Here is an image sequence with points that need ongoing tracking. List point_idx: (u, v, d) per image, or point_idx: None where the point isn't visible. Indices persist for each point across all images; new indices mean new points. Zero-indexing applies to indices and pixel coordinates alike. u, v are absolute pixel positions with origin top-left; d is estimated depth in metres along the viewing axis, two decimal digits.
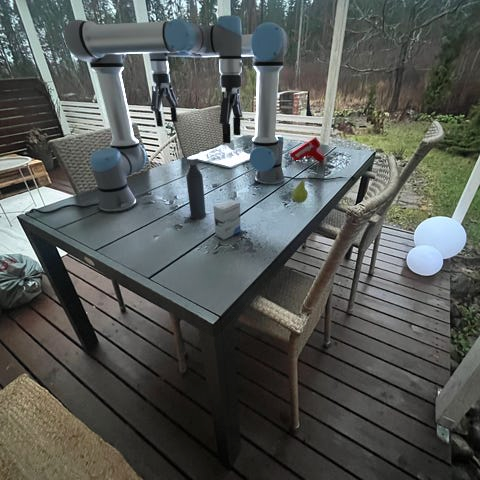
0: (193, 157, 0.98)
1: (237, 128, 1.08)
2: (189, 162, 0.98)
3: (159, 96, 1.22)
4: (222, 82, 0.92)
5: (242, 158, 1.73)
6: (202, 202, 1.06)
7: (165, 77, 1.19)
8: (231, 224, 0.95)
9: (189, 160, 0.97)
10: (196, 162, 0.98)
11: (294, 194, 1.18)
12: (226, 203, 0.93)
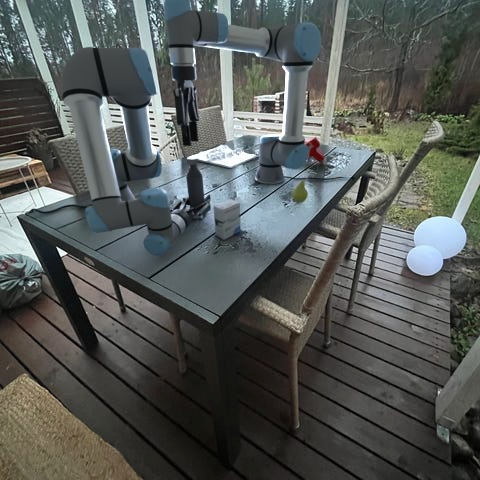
0: (193, 157, 0.98)
1: None
2: (189, 162, 0.98)
3: None
4: None
5: (242, 158, 1.73)
6: (202, 202, 1.06)
7: (192, 71, 0.82)
8: (231, 224, 0.95)
9: (189, 160, 0.97)
10: (196, 162, 0.98)
11: (294, 194, 1.18)
12: (226, 203, 0.93)
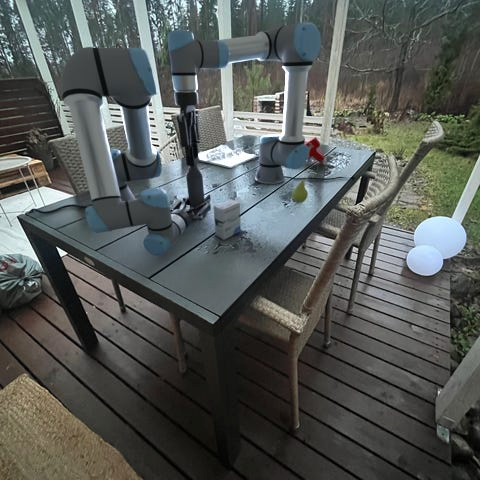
0: None
1: None
2: None
3: None
4: None
5: (242, 158, 1.73)
6: (202, 202, 1.06)
7: (194, 97, 0.86)
8: (231, 224, 0.95)
9: None
10: (196, 162, 0.98)
11: (294, 194, 1.18)
12: (226, 203, 0.93)
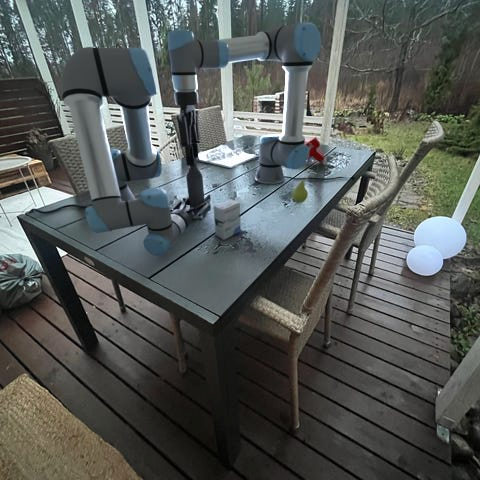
0: None
1: None
2: (196, 161, 0.98)
3: None
4: None
5: (242, 158, 1.73)
6: (202, 202, 1.06)
7: (194, 96, 0.86)
8: (231, 224, 0.95)
9: (196, 159, 0.98)
10: None
11: (294, 194, 1.18)
12: (226, 203, 0.93)
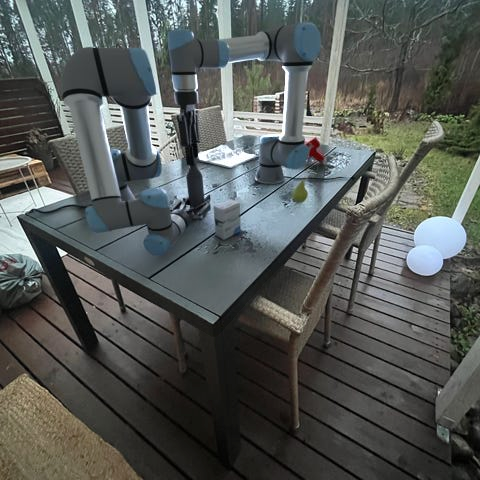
0: None
1: None
2: None
3: None
4: None
5: (242, 158, 1.73)
6: (202, 202, 1.06)
7: (194, 96, 0.86)
8: (231, 224, 0.95)
9: None
10: None
11: (294, 194, 1.18)
12: (226, 203, 0.93)
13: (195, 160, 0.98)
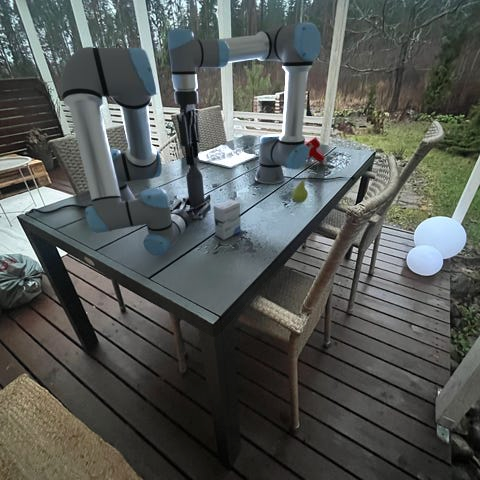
0: None
1: None
2: None
3: None
4: None
5: (242, 158, 1.73)
6: (202, 202, 1.06)
7: (194, 96, 0.86)
8: (231, 224, 0.95)
9: None
10: None
11: (294, 194, 1.18)
12: (226, 203, 0.93)
13: None
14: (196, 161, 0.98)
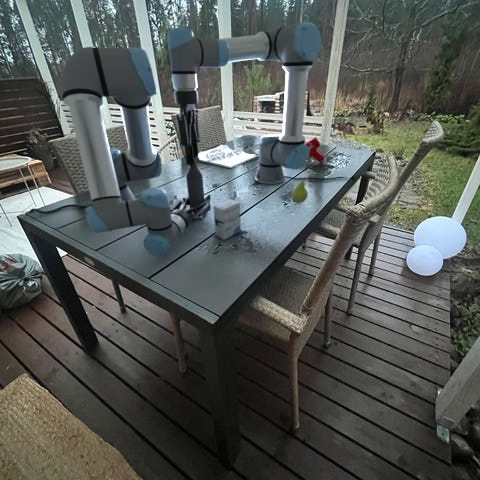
0: None
1: None
2: None
3: None
4: None
5: (242, 158, 1.73)
6: (202, 202, 1.06)
7: (194, 95, 0.85)
8: (231, 224, 0.95)
9: None
10: (196, 161, 0.98)
11: (294, 194, 1.18)
12: (226, 203, 0.93)
13: None
14: None
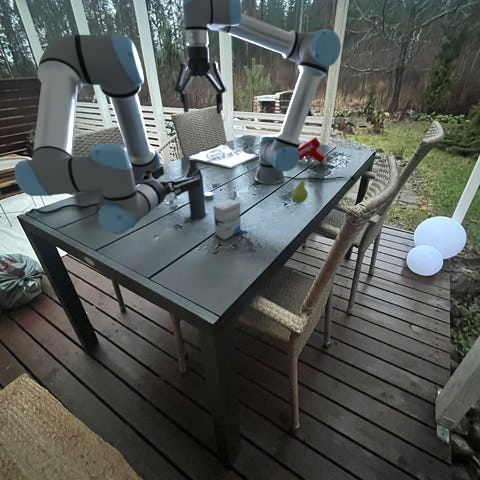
0: (207, 193, 1.25)
1: None
2: None
3: (211, 76, 0.99)
4: None
5: (242, 158, 1.73)
6: (202, 202, 1.06)
7: None
8: (231, 224, 0.95)
9: None
10: None
11: (294, 194, 1.18)
12: (226, 203, 0.93)
13: (210, 196, 1.24)
14: (205, 197, 1.24)
